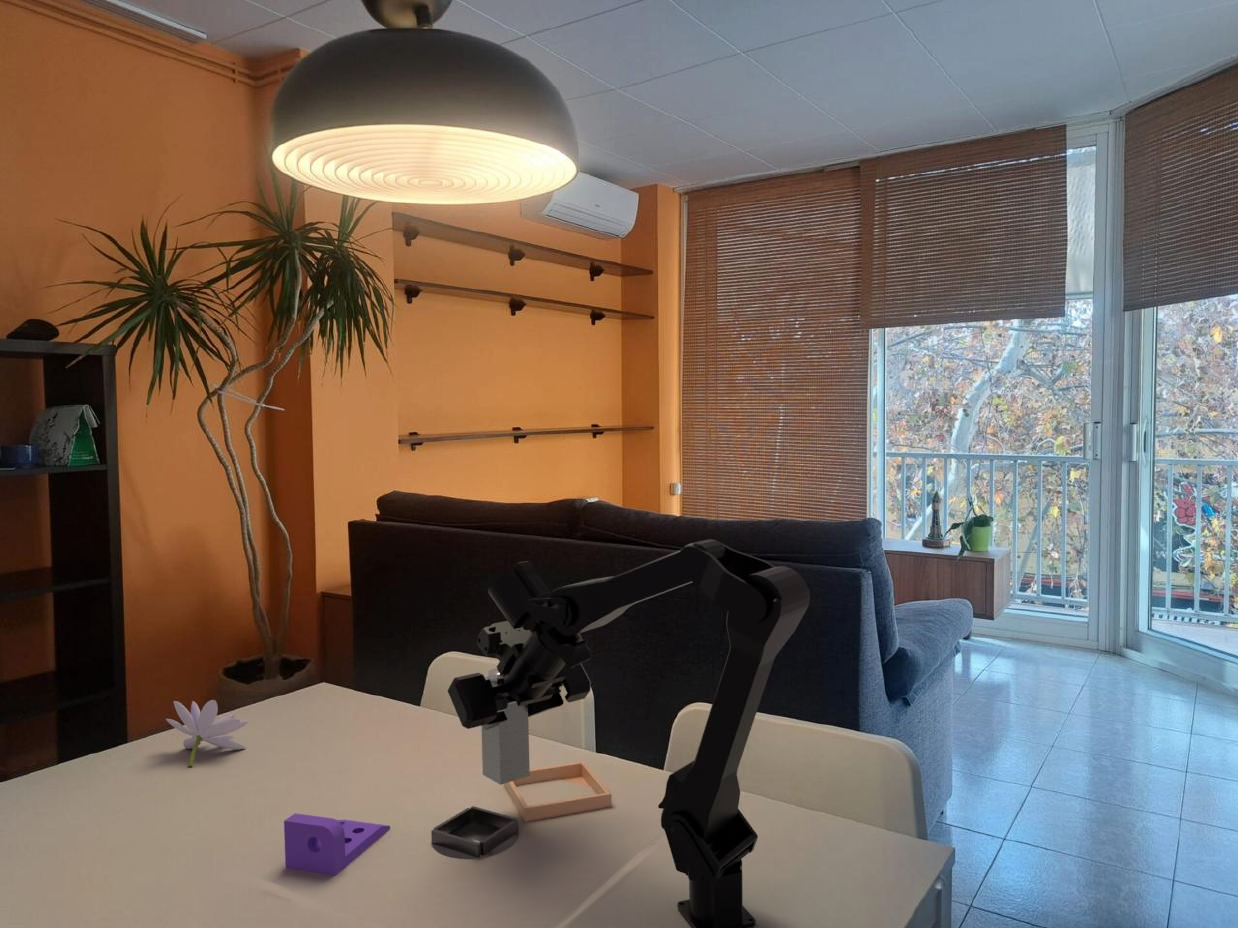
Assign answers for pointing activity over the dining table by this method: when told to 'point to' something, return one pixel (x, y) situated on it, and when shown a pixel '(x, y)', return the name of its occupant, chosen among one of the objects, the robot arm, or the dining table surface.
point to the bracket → (326, 842)
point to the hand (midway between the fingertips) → (499, 722)
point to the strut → (506, 742)
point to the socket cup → (475, 834)
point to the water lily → (206, 727)
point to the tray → (568, 773)
